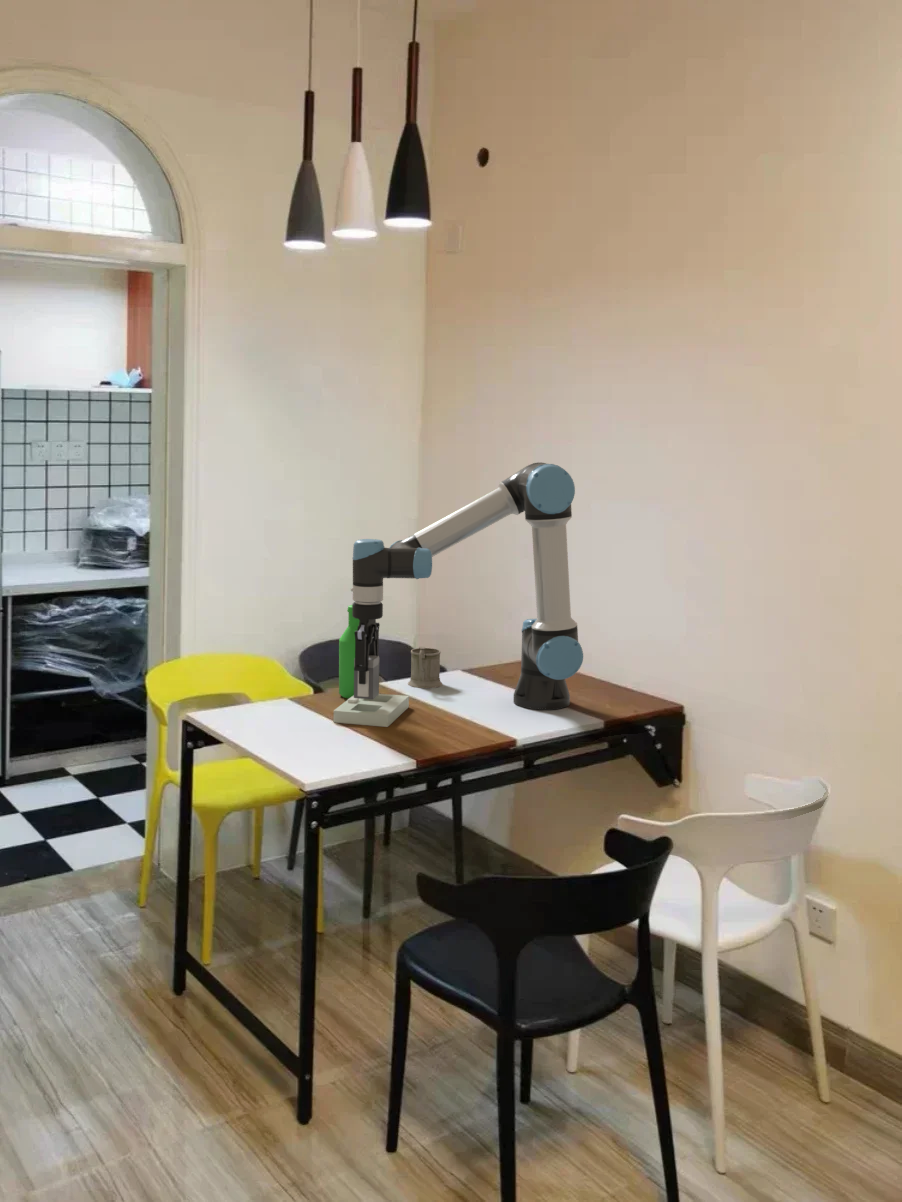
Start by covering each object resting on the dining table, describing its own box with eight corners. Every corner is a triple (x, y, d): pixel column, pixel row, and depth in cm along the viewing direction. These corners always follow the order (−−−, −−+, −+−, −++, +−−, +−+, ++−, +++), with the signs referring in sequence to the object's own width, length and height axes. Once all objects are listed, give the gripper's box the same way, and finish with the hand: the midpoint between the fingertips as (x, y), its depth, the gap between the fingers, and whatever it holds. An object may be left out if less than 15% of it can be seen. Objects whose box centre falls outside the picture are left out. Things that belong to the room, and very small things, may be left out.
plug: (378, 694, 286) (379, 656, 284) (373, 699, 281) (373, 660, 279) (359, 693, 287) (360, 654, 285) (353, 697, 282) (354, 658, 280)
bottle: (373, 692, 312) (374, 603, 308) (368, 700, 303) (369, 608, 299) (342, 691, 313) (342, 602, 309) (335, 699, 304) (336, 607, 300)
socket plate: (408, 707, 298) (408, 693, 297) (387, 726, 278) (387, 711, 278) (357, 702, 301) (357, 689, 300) (333, 722, 281) (333, 707, 281)
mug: (411, 679, 329) (411, 638, 327) (444, 681, 327) (445, 640, 326) (402, 691, 315) (402, 648, 313) (437, 692, 313) (437, 650, 311)
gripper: (363, 595, 289) (362, 684, 293) (341, 606, 272) (340, 700, 276) (392, 597, 288) (390, 686, 291) (371, 608, 270) (370, 703, 274)
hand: (366, 693), depth 284 cm, fingers closed on plug, 5 cm apart
